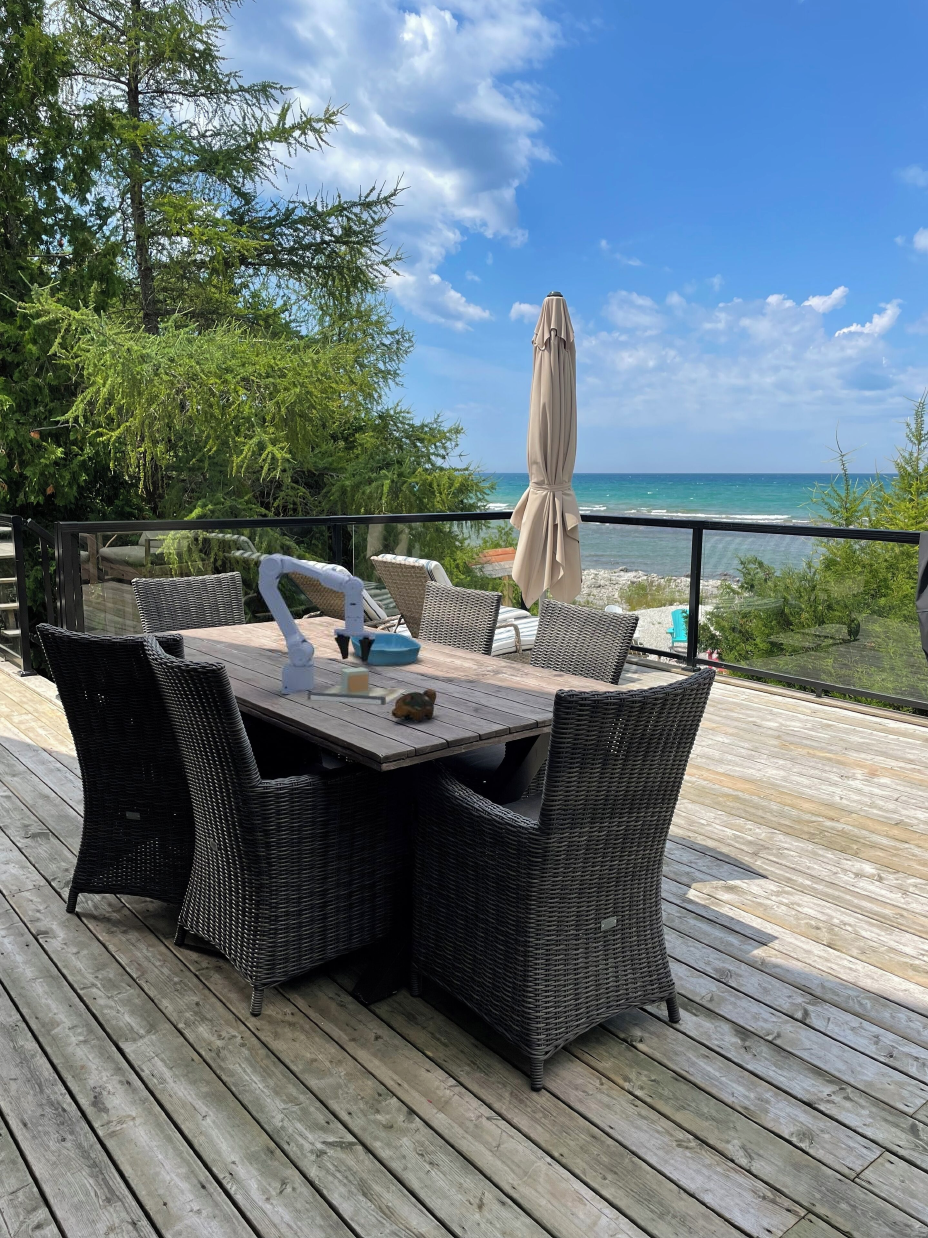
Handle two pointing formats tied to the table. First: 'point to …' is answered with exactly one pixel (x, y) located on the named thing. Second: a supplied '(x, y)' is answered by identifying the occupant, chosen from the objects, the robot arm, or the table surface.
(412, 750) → the table surface
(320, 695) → the rail
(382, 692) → the shelf board
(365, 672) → the carton
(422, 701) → the decorative turtle
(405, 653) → the casserole dish
